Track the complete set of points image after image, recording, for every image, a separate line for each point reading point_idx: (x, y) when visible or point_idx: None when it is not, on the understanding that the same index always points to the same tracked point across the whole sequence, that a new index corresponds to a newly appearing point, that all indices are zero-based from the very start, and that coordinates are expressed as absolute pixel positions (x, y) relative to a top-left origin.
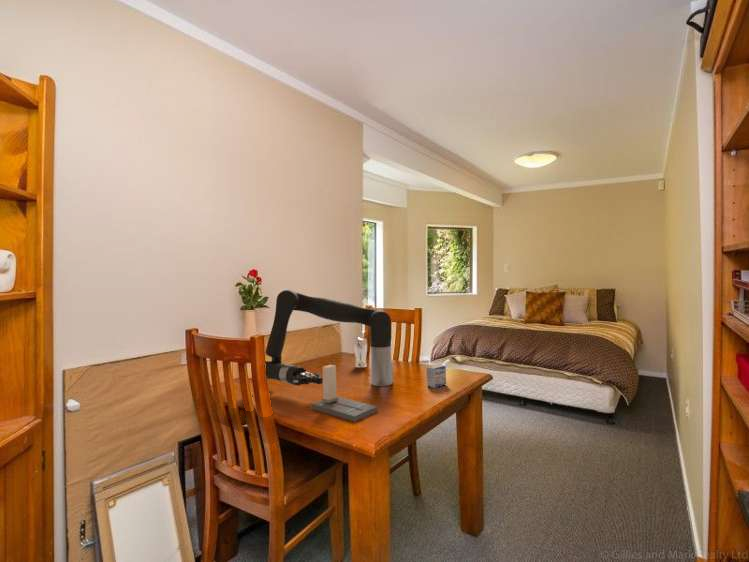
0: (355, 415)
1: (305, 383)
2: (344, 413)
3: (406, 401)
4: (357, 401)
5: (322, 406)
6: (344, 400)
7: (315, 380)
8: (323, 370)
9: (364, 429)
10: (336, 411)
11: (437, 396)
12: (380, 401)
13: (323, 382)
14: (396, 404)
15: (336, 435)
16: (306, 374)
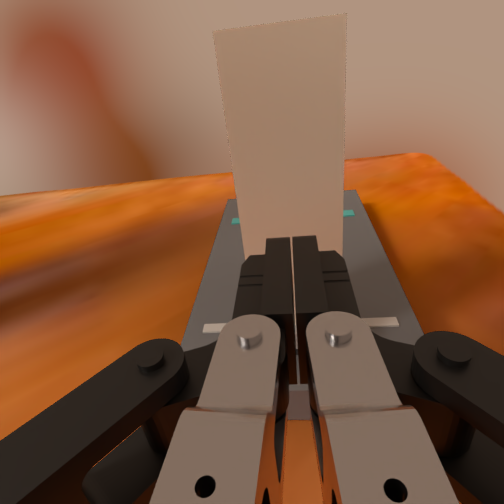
0: (348, 191)
1: (483, 437)
2: (365, 212)
3: (93, 220)
4: (213, 249)
5: (400, 299)
6: (231, 287)
7: (347, 281)
8: (343, 64)
9: (370, 183)
10: (376, 236)
11: (28, 204)
12: (113, 257)
13: (342, 199)
14: (134, 222)
15: (469, 190)
16: (381, 494)
